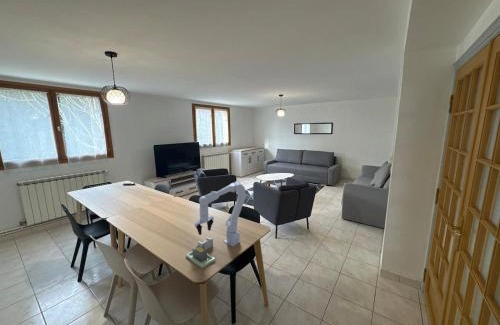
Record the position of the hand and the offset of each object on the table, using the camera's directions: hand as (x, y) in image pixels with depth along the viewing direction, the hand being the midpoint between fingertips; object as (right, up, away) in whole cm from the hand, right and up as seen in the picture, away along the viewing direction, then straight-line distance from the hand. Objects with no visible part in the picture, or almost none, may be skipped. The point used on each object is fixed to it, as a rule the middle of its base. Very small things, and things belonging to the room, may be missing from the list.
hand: (204, 232), depth 138 cm
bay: (+1, -10, 0) cm, 10 cm away
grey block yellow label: (0, -12, -13) cm, 17 cm away
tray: (0, -12, -13) cm, 18 cm away
